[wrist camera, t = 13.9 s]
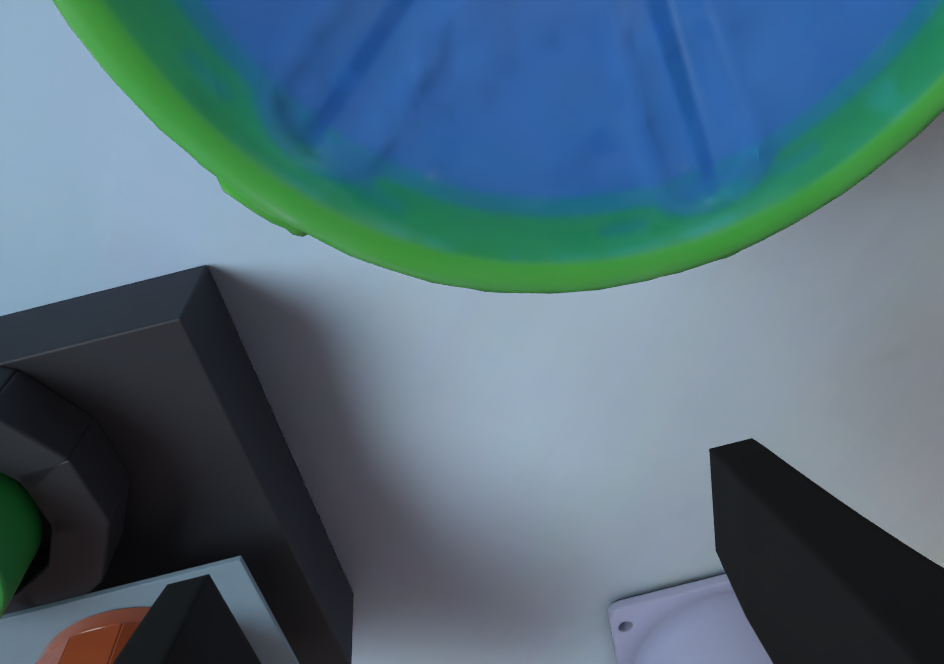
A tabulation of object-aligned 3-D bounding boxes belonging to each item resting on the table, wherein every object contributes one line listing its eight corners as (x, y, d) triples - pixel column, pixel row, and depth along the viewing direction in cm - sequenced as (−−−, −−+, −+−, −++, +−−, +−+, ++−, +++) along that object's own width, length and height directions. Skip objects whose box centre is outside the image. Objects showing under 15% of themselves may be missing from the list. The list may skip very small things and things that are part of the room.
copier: (354, 594, 24) (350, 721, 20) (74, 663, 24) (16, 804, 20) (196, 238, 18) (146, 325, 14) (-187, 334, 18) (-346, 448, 14)
